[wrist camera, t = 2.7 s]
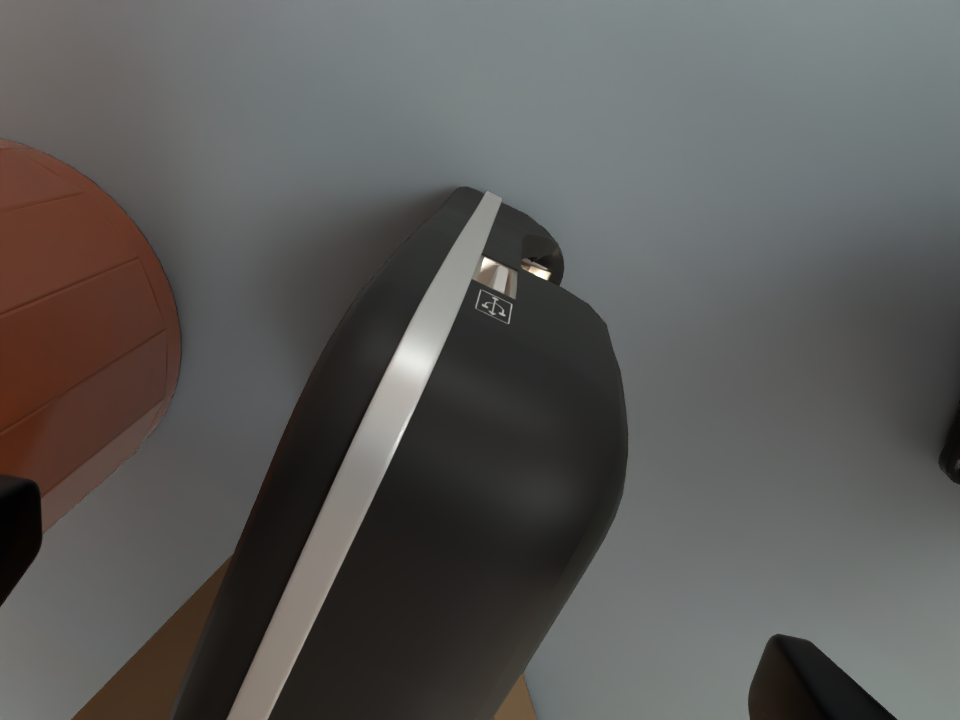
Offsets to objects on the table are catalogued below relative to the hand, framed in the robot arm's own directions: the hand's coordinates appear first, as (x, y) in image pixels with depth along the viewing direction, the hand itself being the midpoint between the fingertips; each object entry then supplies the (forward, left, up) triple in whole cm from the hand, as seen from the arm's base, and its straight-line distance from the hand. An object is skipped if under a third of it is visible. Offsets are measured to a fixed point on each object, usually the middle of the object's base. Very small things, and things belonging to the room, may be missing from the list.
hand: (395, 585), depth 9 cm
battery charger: (0, 0, -10) cm, 10 cm away
